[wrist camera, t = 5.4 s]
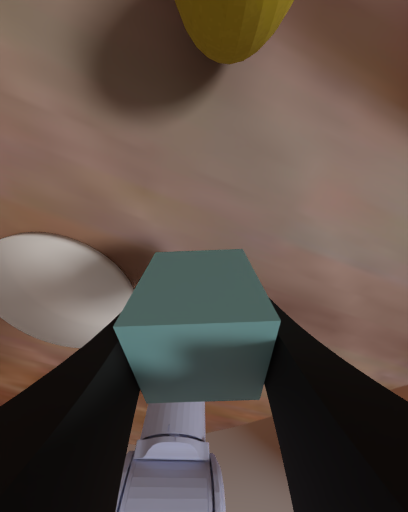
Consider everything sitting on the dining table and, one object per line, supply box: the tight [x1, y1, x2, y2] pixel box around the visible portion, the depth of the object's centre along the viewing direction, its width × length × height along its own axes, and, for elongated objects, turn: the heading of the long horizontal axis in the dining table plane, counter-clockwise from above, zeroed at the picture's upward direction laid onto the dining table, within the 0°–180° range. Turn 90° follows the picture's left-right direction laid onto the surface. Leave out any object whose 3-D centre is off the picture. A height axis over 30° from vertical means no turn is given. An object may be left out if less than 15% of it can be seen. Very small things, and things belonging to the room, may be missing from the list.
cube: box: [113, 249, 281, 403], centre depth 8 cm, size 5×5×5 cm
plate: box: [0, 232, 134, 348], centre depth 18 cm, size 16×16×1 cm
